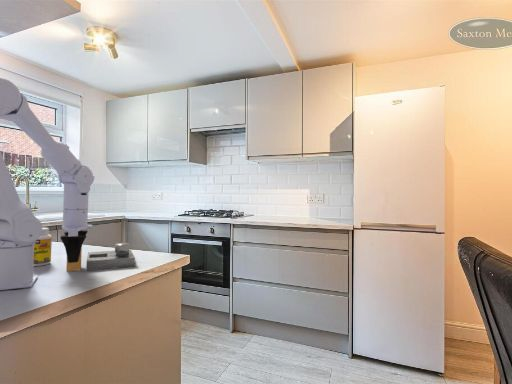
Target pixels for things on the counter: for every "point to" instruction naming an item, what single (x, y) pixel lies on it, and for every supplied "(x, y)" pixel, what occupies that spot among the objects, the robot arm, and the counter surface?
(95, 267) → the gray tray with knob
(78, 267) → the orange rectangular box
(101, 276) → the counter surface
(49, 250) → the supplement bottle
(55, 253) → the counter surface
